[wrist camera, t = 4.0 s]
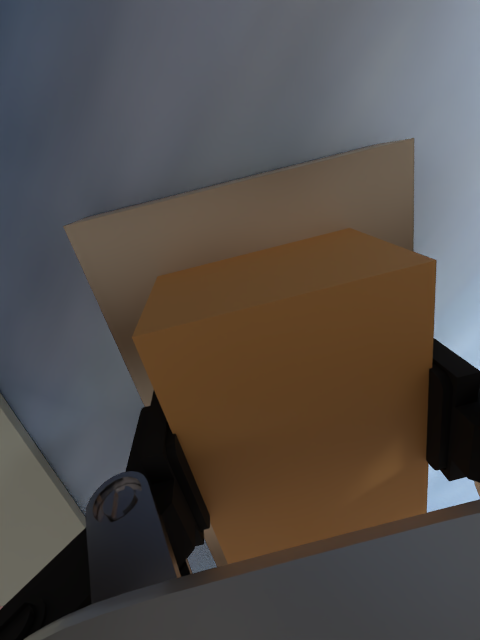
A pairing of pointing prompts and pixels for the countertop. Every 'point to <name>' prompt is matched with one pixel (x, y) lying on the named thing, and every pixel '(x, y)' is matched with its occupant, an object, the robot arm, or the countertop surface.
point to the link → (297, 386)
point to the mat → (29, 508)
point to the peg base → (238, 232)
